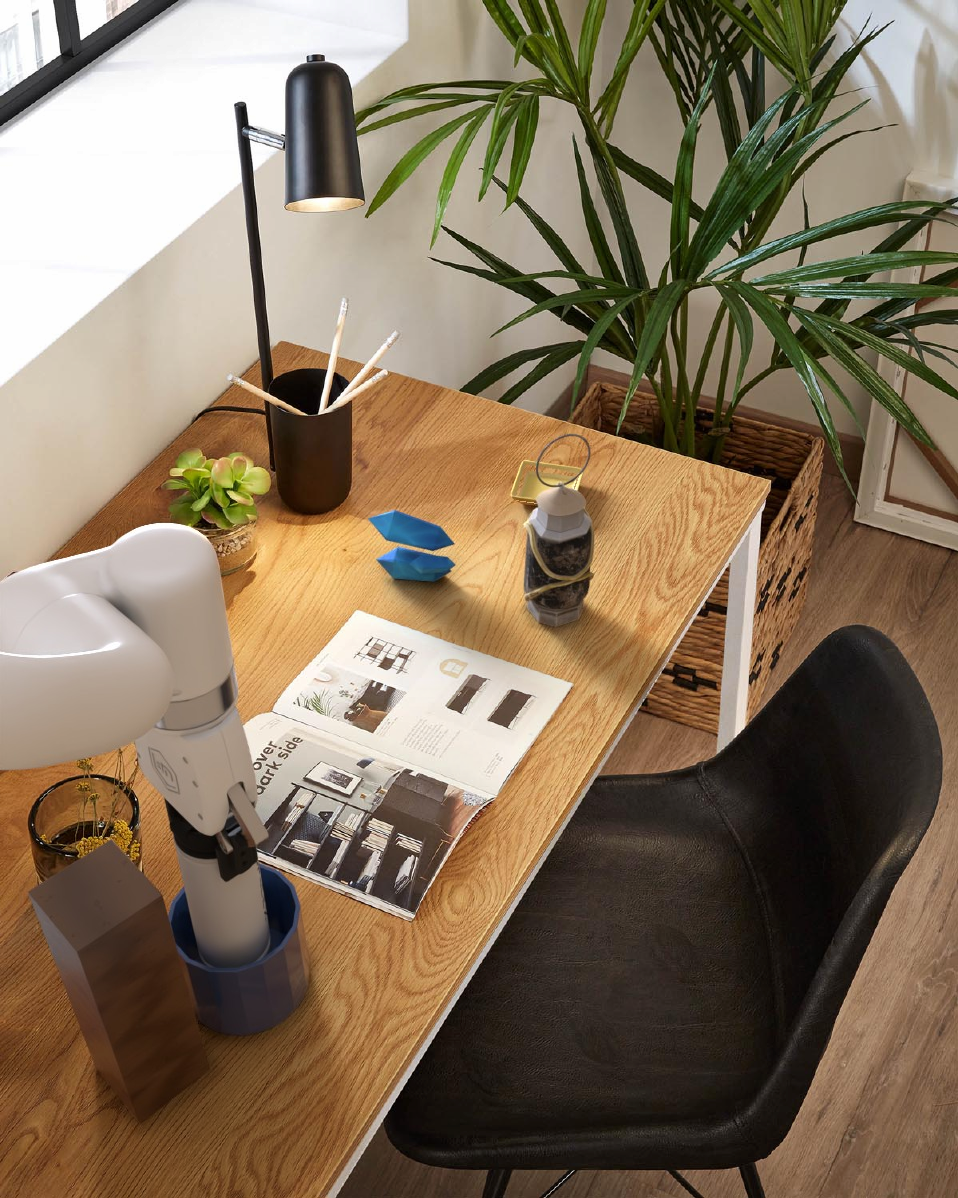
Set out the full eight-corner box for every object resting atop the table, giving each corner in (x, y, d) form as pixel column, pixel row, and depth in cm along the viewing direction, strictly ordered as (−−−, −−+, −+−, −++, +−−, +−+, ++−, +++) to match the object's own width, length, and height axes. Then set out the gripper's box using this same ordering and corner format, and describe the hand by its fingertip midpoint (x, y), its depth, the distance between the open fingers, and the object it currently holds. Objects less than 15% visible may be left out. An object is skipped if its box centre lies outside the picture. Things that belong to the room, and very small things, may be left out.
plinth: (139, 1124, 105) (76, 951, 89) (95, 1067, 109) (27, 891, 93) (210, 1070, 109) (162, 894, 92) (164, 1016, 113) (111, 838, 96)
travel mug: (182, 960, 111) (146, 811, 98) (234, 909, 115) (206, 759, 102) (234, 997, 108) (205, 848, 95) (286, 943, 112) (265, 794, 99)
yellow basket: (584, 480, 174) (584, 467, 172) (573, 517, 167) (573, 504, 166) (522, 471, 175) (522, 459, 174) (508, 508, 169) (509, 495, 168)
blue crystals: (459, 554, 151) (362, 525, 150) (444, 605, 157) (350, 578, 156) (470, 516, 156) (376, 489, 156) (455, 567, 162) (364, 541, 162)
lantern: (571, 579, 158) (582, 407, 141) (603, 618, 152) (619, 444, 136) (508, 599, 155) (512, 426, 139) (539, 639, 150) (547, 464, 133)
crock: (232, 1060, 109) (216, 997, 103) (160, 977, 116) (141, 912, 109) (334, 981, 115) (325, 916, 109) (261, 906, 121) (248, 840, 115)
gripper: (73, 647, 93) (115, 808, 105) (208, 778, 84) (238, 938, 95) (161, 602, 97) (192, 762, 109) (299, 722, 88) (317, 882, 99)
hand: (213, 843), depth 102 cm, fingers closed on travel mug, 6 cm apart
